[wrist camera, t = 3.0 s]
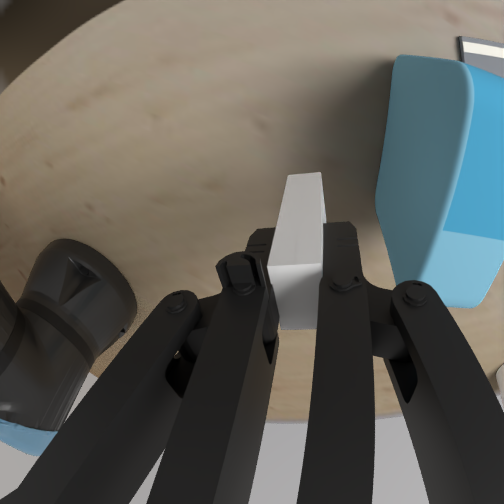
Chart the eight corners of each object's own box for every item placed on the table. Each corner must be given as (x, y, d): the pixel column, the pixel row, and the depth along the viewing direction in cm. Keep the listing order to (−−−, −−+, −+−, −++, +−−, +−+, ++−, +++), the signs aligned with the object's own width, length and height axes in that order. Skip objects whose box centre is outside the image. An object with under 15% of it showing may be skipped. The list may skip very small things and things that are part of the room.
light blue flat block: (422, 211, 23) (472, 321, 13) (372, 203, 24) (401, 317, 14) (450, 68, 16) (555, 101, 6) (392, 53, 16) (472, 62, 7)
